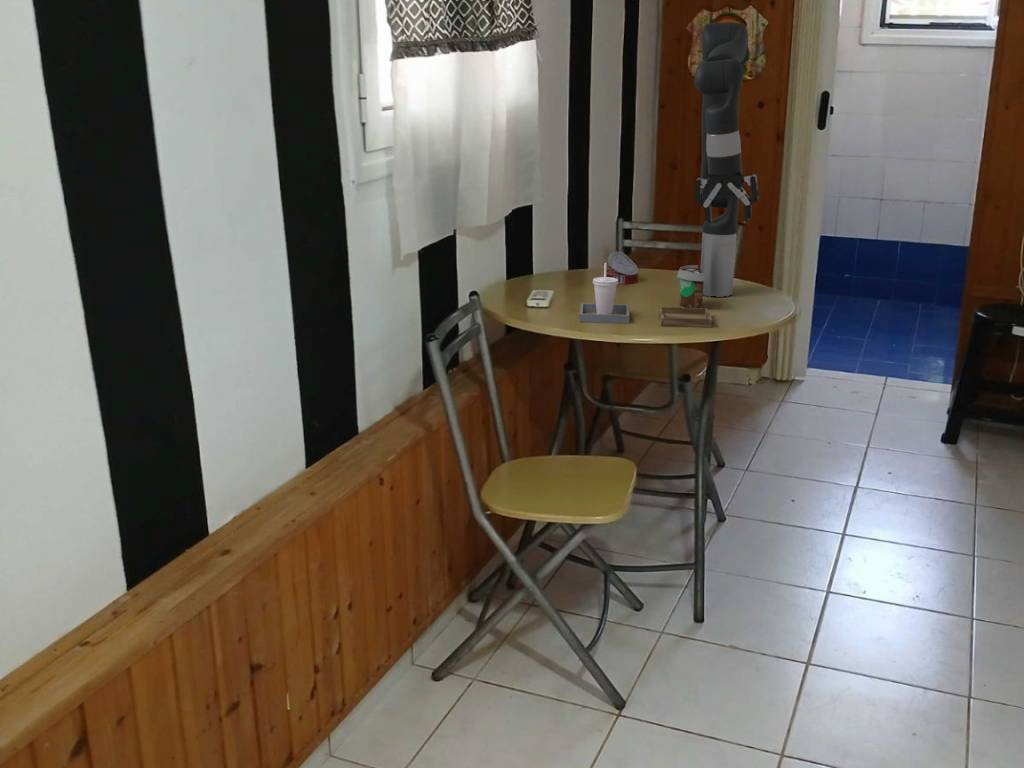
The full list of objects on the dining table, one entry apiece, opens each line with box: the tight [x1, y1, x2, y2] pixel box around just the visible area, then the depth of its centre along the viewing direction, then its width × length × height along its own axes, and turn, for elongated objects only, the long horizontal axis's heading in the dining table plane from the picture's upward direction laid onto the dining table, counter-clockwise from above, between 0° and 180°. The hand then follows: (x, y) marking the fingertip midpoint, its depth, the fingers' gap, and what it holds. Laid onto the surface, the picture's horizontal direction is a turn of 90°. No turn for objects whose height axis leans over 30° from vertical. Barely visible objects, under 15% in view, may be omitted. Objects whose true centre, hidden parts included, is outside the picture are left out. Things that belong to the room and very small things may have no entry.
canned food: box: [606, 250, 639, 286], centre depth 307 cm, size 11×10×10 cm
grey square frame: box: [579, 302, 630, 324], centre depth 264 cm, size 12×12×2 cm
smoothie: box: [592, 262, 618, 314], centre depth 263 cm, size 6×6×14 cm
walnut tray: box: [658, 306, 713, 328], centre depth 261 cm, size 12×12×2 cm
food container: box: [676, 264, 704, 308], centre depth 276 cm, size 12×6×10 cm, turn 178°
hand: (728, 221), depth 242 cm, fingers open, 8 cm apart
